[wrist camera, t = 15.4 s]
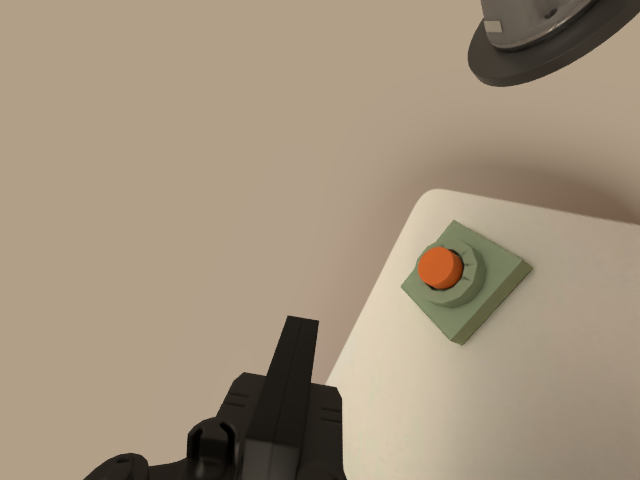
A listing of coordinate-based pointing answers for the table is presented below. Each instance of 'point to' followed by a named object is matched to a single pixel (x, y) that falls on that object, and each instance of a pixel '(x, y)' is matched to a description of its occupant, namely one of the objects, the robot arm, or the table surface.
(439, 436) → the table surface
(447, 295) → the control block
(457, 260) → the orange button
